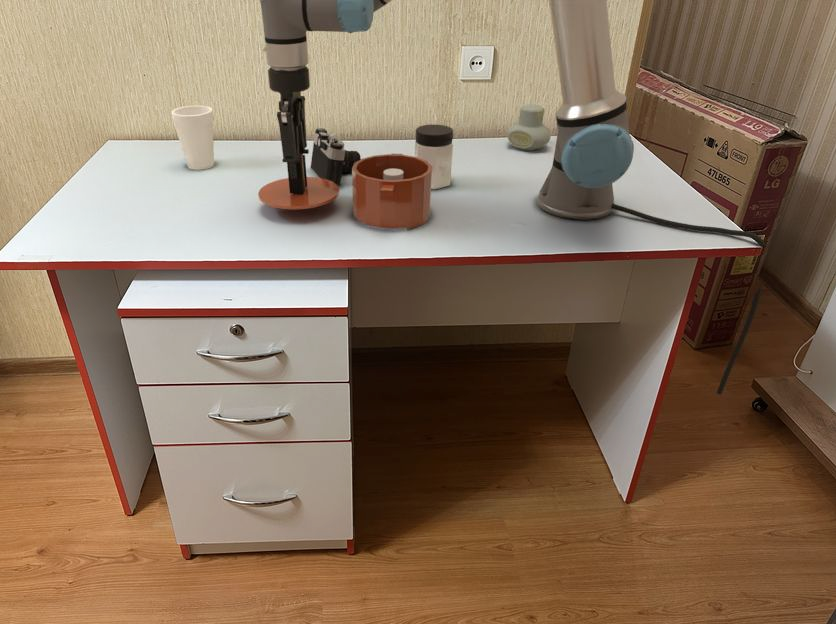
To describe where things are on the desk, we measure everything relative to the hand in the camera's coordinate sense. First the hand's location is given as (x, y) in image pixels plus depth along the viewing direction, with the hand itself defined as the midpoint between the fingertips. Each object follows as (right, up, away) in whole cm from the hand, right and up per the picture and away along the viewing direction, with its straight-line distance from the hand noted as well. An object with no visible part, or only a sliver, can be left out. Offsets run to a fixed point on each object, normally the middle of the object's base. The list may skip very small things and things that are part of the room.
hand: (298, 189), depth 130 cm
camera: (+7, +8, +19) cm, 22 cm away
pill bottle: (+19, -5, +1) cm, 20 cm away
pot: (+19, -5, +1) cm, 20 cm away
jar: (+29, +5, +16) cm, 33 cm away
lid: (0, -1, +1) cm, 1 cm away
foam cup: (-27, +12, +26) cm, 40 cm away
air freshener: (+56, +20, +36) cm, 70 cm away
